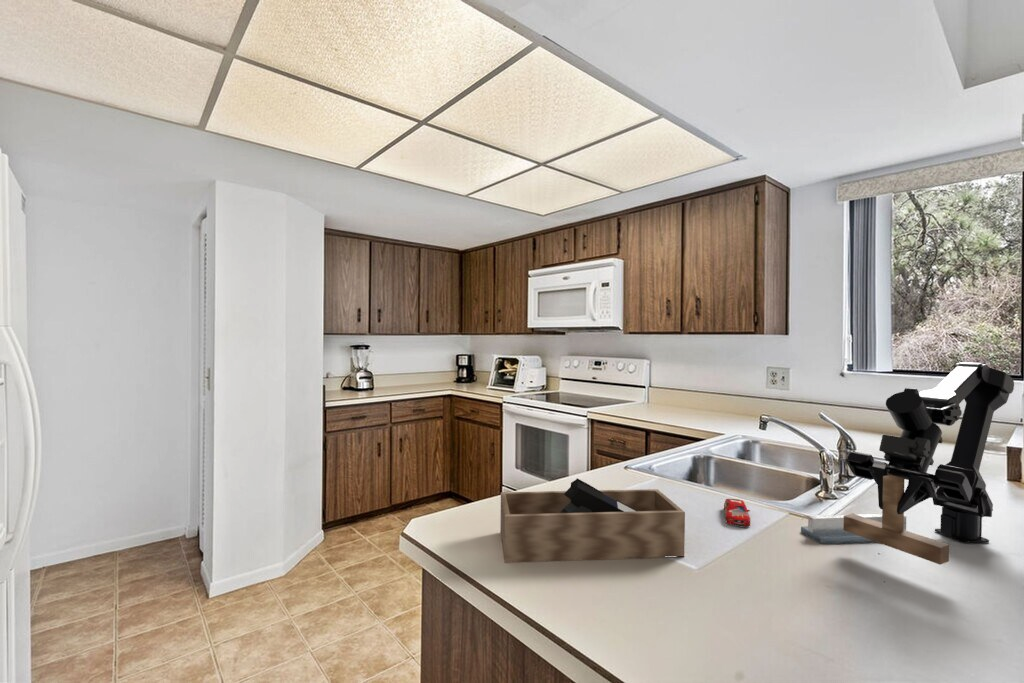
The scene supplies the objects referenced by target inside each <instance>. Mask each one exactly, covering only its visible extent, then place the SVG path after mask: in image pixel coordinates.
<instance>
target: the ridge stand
mask: <svg viewBox="0 0 1024 683" xmlns="http://www.w3.org/2000/svg"><path fill="white" fill-rule="evenodd" d="M845 515H846V514H836V515H835V514H834V515H832V514H830V515H808V518H807V520H808V521H807V522H808V523H807V526H804V525H803V526H800V532H801V533H802V534H804V535H805V536H807V537H808V538H810V539H811V540H814V541H815V542H817V543H819V544H844V543H845V544H847V543H854V544H855V543H876V542H875V541H872V540H869V539H867V538H864V537H861V536H858V535H855V534H853V533H850V532H847V531H844V530H843V525H844V516H845ZM858 515H859V516H862V517H865V518H868V519H871V520H874V521H878V522H881V523H882V513H877V514H875V513H873V514H858ZM904 530H906V531H907V515H906V514H904Z"/></svg>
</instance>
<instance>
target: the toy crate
mask: <svg viewBox="0 0 1024 683" xmlns="http://www.w3.org/2000/svg"><path fill="white" fill-rule="evenodd" d="M598 490H599V491H601V492H602V493H603V494H605V495H607V496H609V497H611V498H612V499H614V500H618V501H620V502H622V503H624V504H626V505H628V506H630V507H631V508H633V509H635V510H637V511H633V512H591V513H560V512H561V511H562V510H563V509H564V508H565V507H566V506H567V505H568V504H569V503H570V502H571V499H569V498H568V497H567V496H565V495H564V493H565V492H566V491H567V490H557V491H555V490H554V491H553V490H550V491H507V492H506V491H505V492H504V491H502V492H500V522H499V523H500V527H499V528H500V532H499V533H500V539H501V546H502V553H503V560H504V564H507V563H508V564H509V563H534V562H535V563H536V562H538V563H541V562H564V561H565V562H567V561H569V562H570V561H597V560H598V559H599V560H602V559H603V560H604V559H605V560H626V559H625V558H636V559H653V558H652V557H665V556H684V557H685V545H686V544H685V540H686V538H685V533H686V532H685V530H686V527H685V526H686V511H684V510H683V509H682V508H680V506H678V505H677V504H676V503H674V501H672V500H671V499H670V498H669V497H668V496H667V495H665V494H664V493H663V492H661V491H660V490H659V489H656V488H653V489H651V488H650V489H646V488H645V489H609V490H608V489H605V490H603V489H602V490H601V489H598ZM650 557H651V558H650ZM623 558H624V559H623ZM599 560H598V561H599ZM603 560H602V561H603Z"/></svg>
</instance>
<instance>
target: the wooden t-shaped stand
mask: <svg viewBox="0 0 1024 683" xmlns="http://www.w3.org/2000/svg"><path fill="white" fill-rule="evenodd" d="M905 480H906V479H905V478H902V477H897V476H893V475H887V476H883V509H881V510H882V511H881V514H882V523H881V522H878V521H874V520H871V519H868V518H865V517H862V516H859V515H860V514H855V513H849V514H844V515H845V516H844V525H843V530H844V531H847V532H850V533H853V534H855V535H858V536H861V537H864V538H867V539H869V540H872V541H875V542H874V543H878V544H881V545H884V546H886V547H890V548H892V549H895V550H898V551H900V552H903V553H906V554H910V555H912V556H915V557H917V558H921V559H923V560H926V561H929V562H932V563H934V564H937V565H943V564H946V563H948V562H950V544H948V543H946V542H942V541H939V540H936V539H933V538H929V537H927V536H925V535H921V534H917V533H914V532H912V531H909V530H907V529H906V530H904V515H905V512H904V513H902V514H898V513H897V508H898V505H899V502H900V500H901V498H902V496H903V494H904V492H905Z"/></svg>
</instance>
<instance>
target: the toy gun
mask: <svg viewBox="0 0 1024 683" xmlns="http://www.w3.org/2000/svg"><path fill="white" fill-rule="evenodd" d="M599 490H600V489H597V488H596V487H594V486H593V485H590V484H588V483H587V482H585V481H583V480H582V479H579V478H576V479H574V480H573V481H571V482H570V487H568V489H567V490H565V491H566V492H565V493H564V495H565V496H567V497H568V498H569V499H571V502H570V503H569V504H568V505H567V506H566V507H565V508H564V509H563V510H562V511H561V512H560V513H591V512H633V511H637V510H635V509H633V508H631V507H630V506H628V505H626V504H624V503H622V502H620V501H618V500H614V499H612V498H611V497H609V496H607V495H605V494H603V493H602V492H601V491H599Z"/></svg>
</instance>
